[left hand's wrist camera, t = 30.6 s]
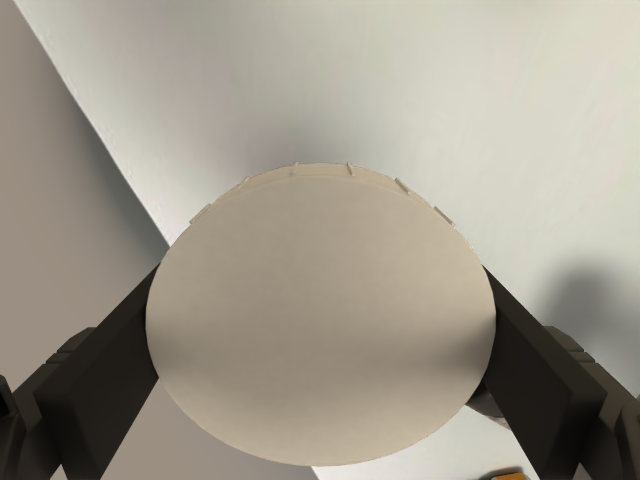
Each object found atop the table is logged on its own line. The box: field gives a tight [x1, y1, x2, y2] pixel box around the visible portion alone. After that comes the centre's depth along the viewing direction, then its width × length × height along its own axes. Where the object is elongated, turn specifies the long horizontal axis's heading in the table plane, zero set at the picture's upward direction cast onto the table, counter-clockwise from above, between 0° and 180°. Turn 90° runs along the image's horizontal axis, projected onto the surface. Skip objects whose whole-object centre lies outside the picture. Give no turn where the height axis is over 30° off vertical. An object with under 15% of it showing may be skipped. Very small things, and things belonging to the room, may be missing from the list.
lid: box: [146, 162, 496, 466], centre depth 11 cm, size 11×11×2 cm
